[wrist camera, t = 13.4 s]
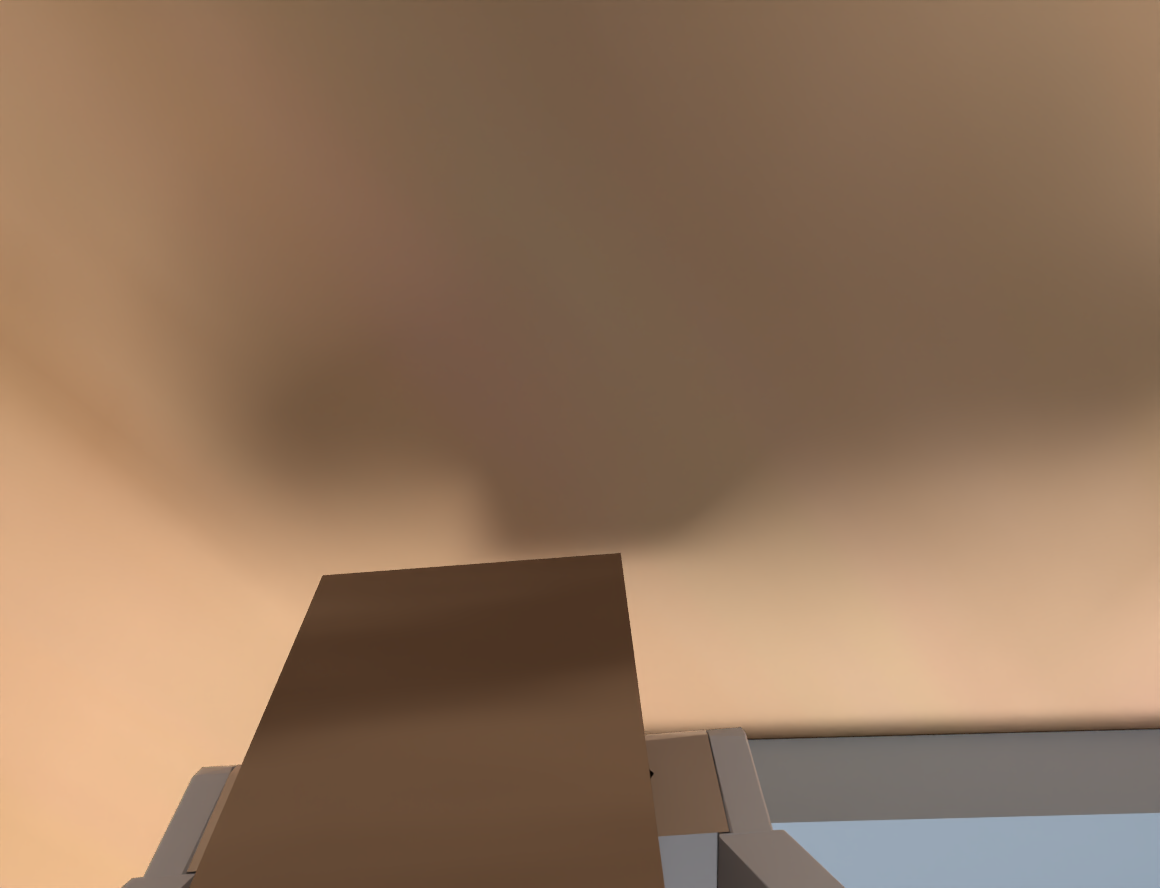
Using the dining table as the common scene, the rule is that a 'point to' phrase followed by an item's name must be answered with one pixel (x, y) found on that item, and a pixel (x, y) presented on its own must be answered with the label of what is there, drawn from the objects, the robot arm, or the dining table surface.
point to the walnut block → (450, 738)
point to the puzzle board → (971, 807)
